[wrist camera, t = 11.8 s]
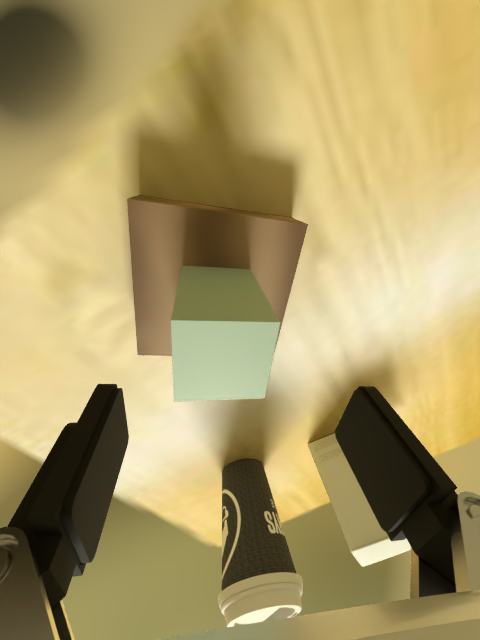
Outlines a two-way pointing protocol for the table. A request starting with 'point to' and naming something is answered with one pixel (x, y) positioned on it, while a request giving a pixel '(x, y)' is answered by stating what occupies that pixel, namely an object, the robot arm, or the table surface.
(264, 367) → the sage block
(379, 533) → the supplement box
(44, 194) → the table surface
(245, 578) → the coffee cup
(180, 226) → the block
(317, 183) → the table surface
